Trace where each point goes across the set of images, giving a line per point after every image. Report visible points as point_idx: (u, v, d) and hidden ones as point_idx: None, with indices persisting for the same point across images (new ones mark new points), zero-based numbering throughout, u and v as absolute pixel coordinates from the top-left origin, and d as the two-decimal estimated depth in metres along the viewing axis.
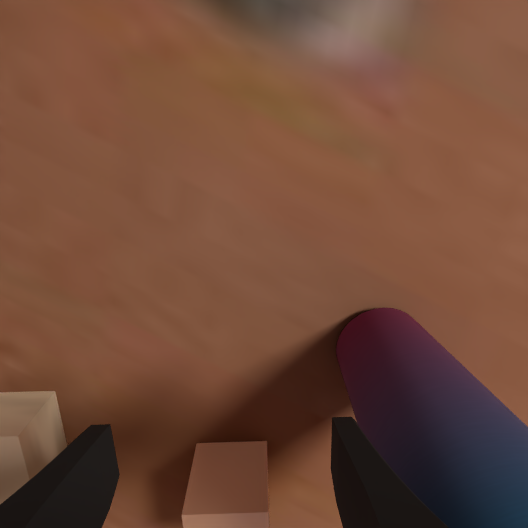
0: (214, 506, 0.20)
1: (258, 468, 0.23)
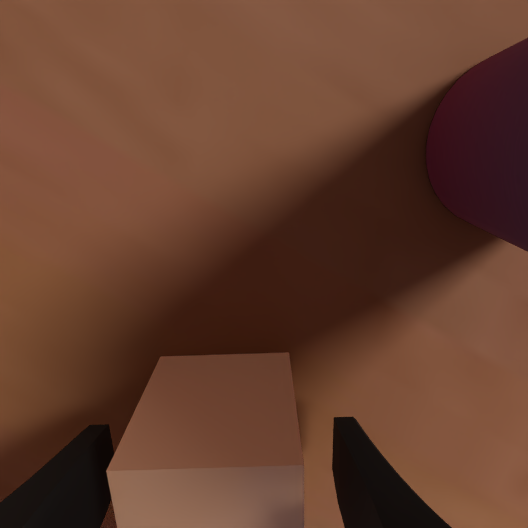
0: (181, 453, 0.09)
1: (275, 390, 0.11)
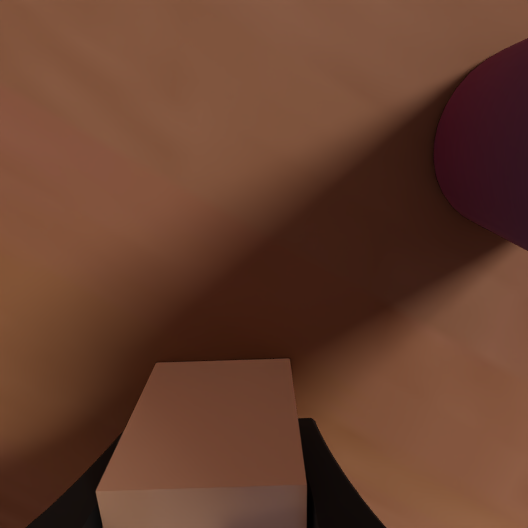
0: (176, 471, 0.09)
1: (275, 401, 0.11)
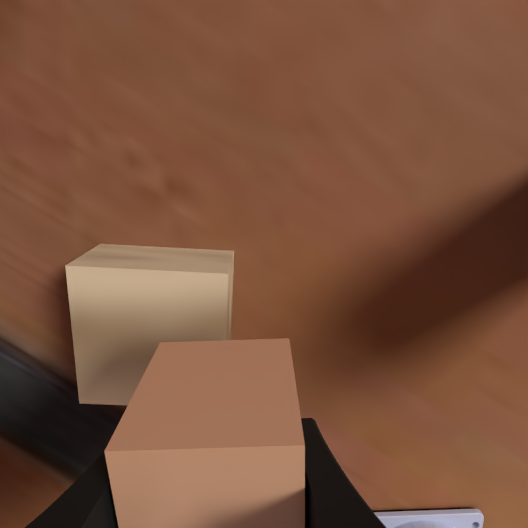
0: (180, 434, 0.09)
1: (275, 374, 0.11)
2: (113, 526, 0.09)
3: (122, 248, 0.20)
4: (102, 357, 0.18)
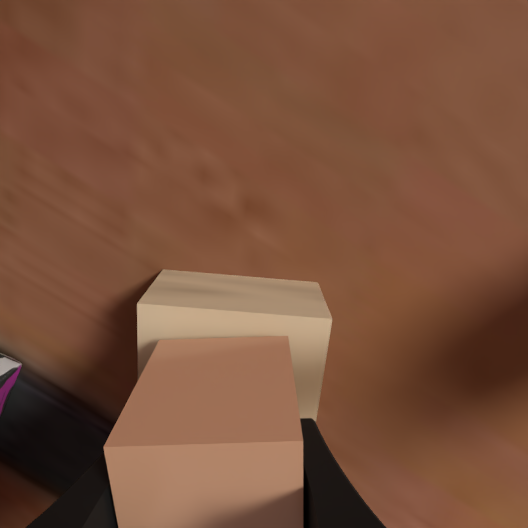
0: (179, 430, 0.09)
1: (274, 371, 0.11)
2: (114, 526, 0.09)
3: (191, 276, 0.17)
4: None
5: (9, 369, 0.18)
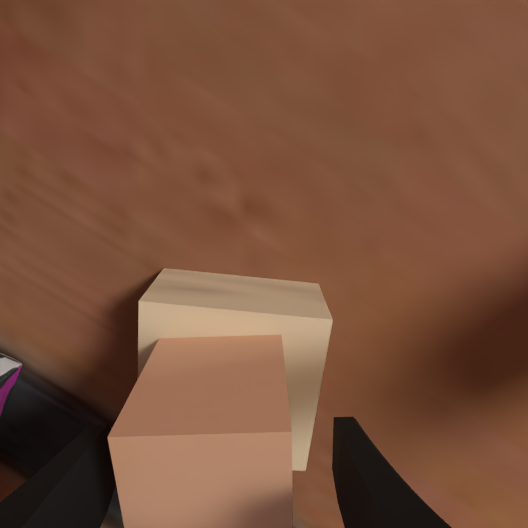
0: (177, 422, 0.10)
1: (267, 368, 0.12)
2: None
3: (192, 275, 0.17)
4: None
5: (9, 369, 0.18)
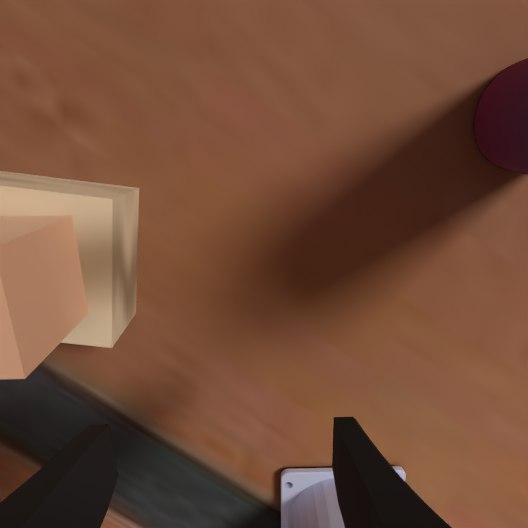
0: None
1: (28, 227, 0.14)
2: None
3: (17, 175, 0.19)
4: None
5: None
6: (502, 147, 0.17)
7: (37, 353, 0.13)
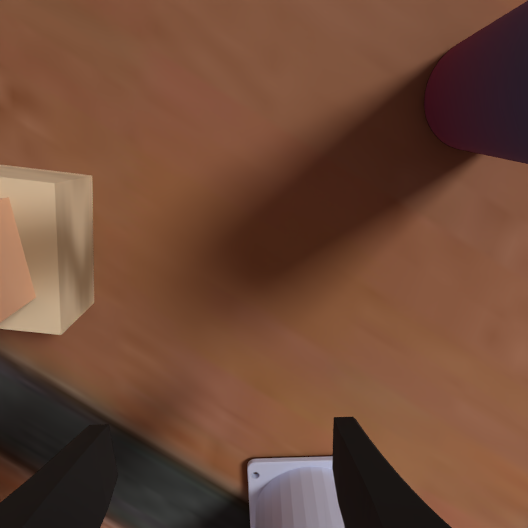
0: None
1: None
2: None
3: None
4: None
5: None
6: (446, 124, 0.17)
7: None
